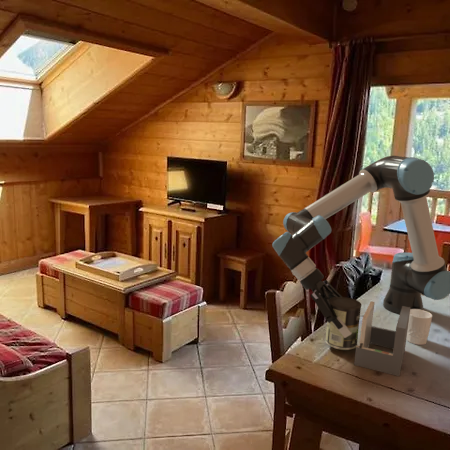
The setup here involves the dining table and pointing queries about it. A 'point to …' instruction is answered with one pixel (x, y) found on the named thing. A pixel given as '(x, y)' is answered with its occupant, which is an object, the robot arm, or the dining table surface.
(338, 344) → the coffee can
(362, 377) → the dining table surface
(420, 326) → the white cup
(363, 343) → the curved beige panel
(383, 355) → the grey u-shaped holder
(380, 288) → the dining table surface
